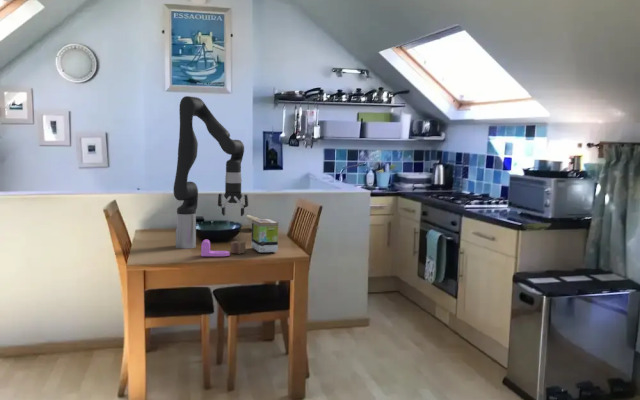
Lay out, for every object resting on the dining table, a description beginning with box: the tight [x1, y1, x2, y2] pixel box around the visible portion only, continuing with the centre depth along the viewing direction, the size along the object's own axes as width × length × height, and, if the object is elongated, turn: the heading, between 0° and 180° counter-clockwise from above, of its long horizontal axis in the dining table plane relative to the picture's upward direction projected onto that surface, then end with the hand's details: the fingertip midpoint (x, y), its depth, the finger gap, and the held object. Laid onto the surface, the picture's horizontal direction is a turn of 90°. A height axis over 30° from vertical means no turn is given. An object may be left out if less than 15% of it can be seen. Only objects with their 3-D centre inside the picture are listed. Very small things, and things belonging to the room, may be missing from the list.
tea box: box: [251, 218, 279, 253], centre depth 269 cm, size 15×10×15 cm
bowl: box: [246, 214, 260, 230], centre depth 326 cm, size 15×14×10 cm
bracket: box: [200, 239, 231, 257], centre depth 255 cm, size 13×6×7 cm, turn 98°
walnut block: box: [230, 240, 246, 255], centre depth 262 cm, size 5×5×5 cm
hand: (233, 215), depth 258 cm, fingers open, 8 cm apart
